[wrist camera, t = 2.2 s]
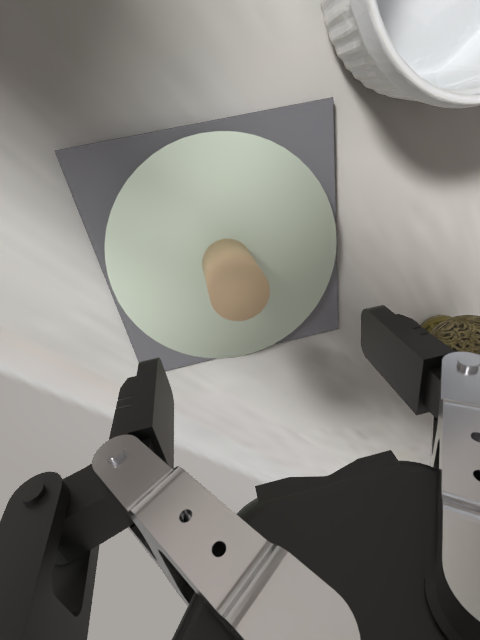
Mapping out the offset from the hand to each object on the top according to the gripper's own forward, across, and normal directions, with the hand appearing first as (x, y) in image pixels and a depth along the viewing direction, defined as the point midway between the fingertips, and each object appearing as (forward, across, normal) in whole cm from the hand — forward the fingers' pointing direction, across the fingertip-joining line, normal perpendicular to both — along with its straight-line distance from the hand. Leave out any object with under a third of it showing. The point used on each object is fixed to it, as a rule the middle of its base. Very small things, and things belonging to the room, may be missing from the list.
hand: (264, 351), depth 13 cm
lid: (+11, 0, 0) cm, 11 cm away
